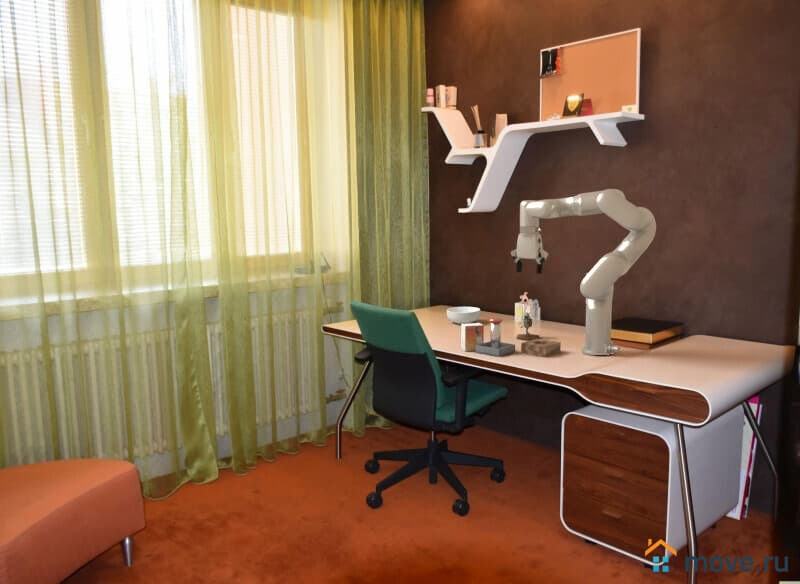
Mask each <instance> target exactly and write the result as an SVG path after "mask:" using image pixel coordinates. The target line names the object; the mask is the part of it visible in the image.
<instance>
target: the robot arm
mask: <svg viewBox="0 0 800 584" xmlns="http://www.w3.org/2000/svg"><path fill="white" fill-rule="evenodd" d="M599 214H605V215H606V216H608V217H609V218H610V219H611V220H613V221H615V222H616V223H617V224H619V225H620V226H622V227H623V228H624V229H626V230H628V231H629V233H628V235H627V236H625V238H623V240H622V241H621V242H620V244H619V245H618V246H617V247H616V248H615V249H614V250H613V251H611V252H608V253H606V254H604V255H603V256H602V257H601V258H600V259H599V260H598V261H597V262H596V263H595V264H594V265H593V267H592V268H591V269H590V270H589V272H587V274H586V275H585V276H584V277H583V279H581V283H580V285H579V290H580V294H581V295H582V296H583V297H584V298H585V299H586V303H585V305H586V306H585V339H584V340H585V341H584V342H585V343H584V346H583V347H582V348H581V349H580V351H581V353H582V354H584V355H588V356H595V355H607V356H609V355H608V354H612V353H614V352H618V353H619V352H620V350H621V347H620V345H615V344H614V341H612V340H611V339H612V335H611V334H612V311H613V310H612V309H613V308H612V307H613V296H614V284H615V283H616V282H617V280H618V279H619V278H620V277H621V276H624V275H625V274H627V273H628V272H629V270H630V268H632V266H633V265H634V264H635V263H636V261H638V259H639V258H640V257H641V255H643V253H645V251H646V250H647V249H648V247H649V246H650V244H651V243H652V242H653V240H654V238H655V236H656V231H657V223H656V220H655V217H654V214H653V213H652V211H650V209H648V208H646V207H643V206H636V205H635V204H634V203H631V202H630V201H629V200H627V199H626V196H625V194H624V192H623V191H622V190H619V189H617V188H607V189H604V190H597V191H591V192H583V193H579V194H577V195H575V196H569V197H562V198H553V199H552V198H551V199H550V198H549V199H547V198H546V199H540V200H531V199H528V200H526V199H525V200H522V201H521V202H520V204H519V234H518V236H517V242H516V248H515V249H513V250H511V251H510V255H511V258H512V260H513V261H514V263H515V271H516V272H515V273H522V272H523V263H522V261H523V259H525V260H535V262H537V264H536V269H535V271H536V272H535V273H536V275H539V274H542V273H543V265H544V263H545V262H546V260H547V258H548V257H549V252H547V251H546V250H544V247H543V239H542V235H541V233H540V232H542V228H540V219H544V220H545V219H555V218H562V217H572V216H580V217H581V216H590V215H599ZM614 354H615V353H614ZM612 355H613V354H612Z"/></svg>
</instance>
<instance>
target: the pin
mask: <svg viewBox="0 0 800 584" xmlns="http://www.w3.org/2000/svg"><path fill="white" fill-rule="evenodd" d="M488 321H489V322H490V327H489V328H490V336H489V337H490V348H496V349H500V348H501V342H502V341H501V338H502V337H501V332H502V331H501V329H502V328H501V327H502V324H501V323H502V322H503V318H501V317H500V318H499V317H491V318H488Z"/></svg>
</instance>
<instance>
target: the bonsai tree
mask: <svg viewBox="0 0 800 584" xmlns="http://www.w3.org/2000/svg"><path fill="white" fill-rule="evenodd" d="M530 314H531V312H530V311H528V312H526V313H525V314H524V315H523V326H519V329H522V328H524V329H525V332H526V333H520V334H517V336H516V340H519V341H520V340H521V341H524V342H527V341H530V340H533V339H540V334H534V333H530V331H529V329H530V328H532V326H533V319H532V318H531V315H530Z"/></svg>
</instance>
